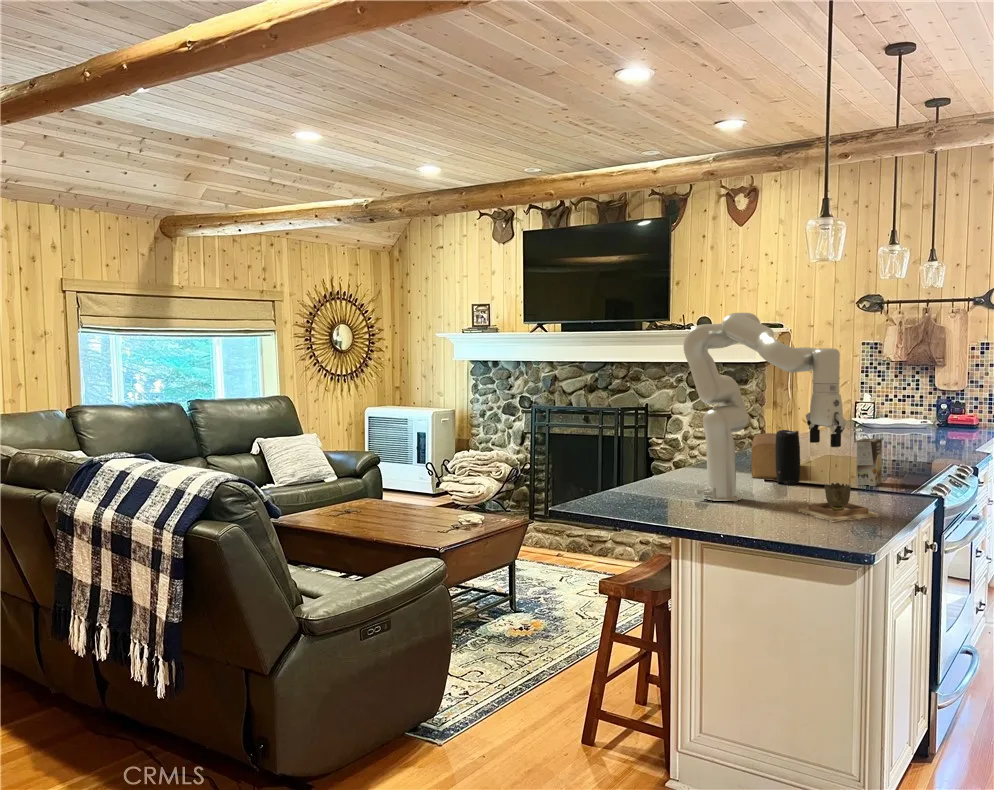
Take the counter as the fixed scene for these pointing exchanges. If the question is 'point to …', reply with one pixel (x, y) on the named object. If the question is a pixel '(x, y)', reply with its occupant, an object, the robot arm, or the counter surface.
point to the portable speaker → (787, 457)
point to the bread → (763, 456)
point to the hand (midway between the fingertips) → (825, 444)
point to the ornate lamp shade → (837, 495)
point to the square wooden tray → (838, 512)
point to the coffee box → (869, 462)
